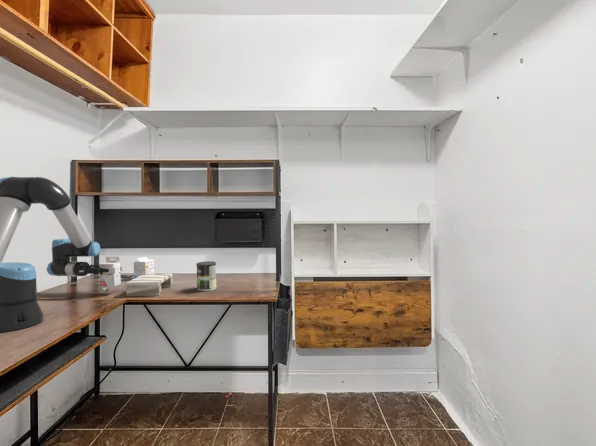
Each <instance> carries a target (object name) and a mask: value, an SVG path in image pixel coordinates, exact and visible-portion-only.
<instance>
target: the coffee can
mask: <svg viewBox="0 0 596 446" xmlns="http://www.w3.org/2000/svg"><path fill="white" fill-rule="evenodd" d="M216 289H217V262H216V261H212V260H211V261H208V260H207V261H199V262H196V290H197V291H201V292H209V291H213V290H216Z"/></svg>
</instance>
